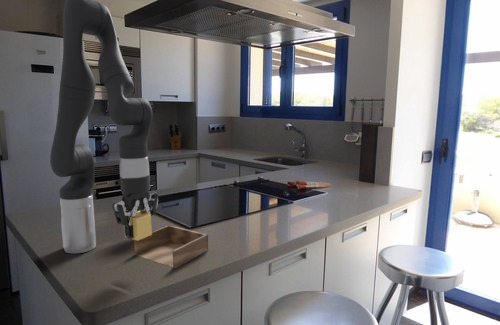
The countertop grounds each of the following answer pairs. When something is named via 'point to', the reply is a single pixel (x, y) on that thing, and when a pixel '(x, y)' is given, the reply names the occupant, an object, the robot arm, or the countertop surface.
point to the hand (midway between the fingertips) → (138, 234)
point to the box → (171, 246)
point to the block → (141, 225)
